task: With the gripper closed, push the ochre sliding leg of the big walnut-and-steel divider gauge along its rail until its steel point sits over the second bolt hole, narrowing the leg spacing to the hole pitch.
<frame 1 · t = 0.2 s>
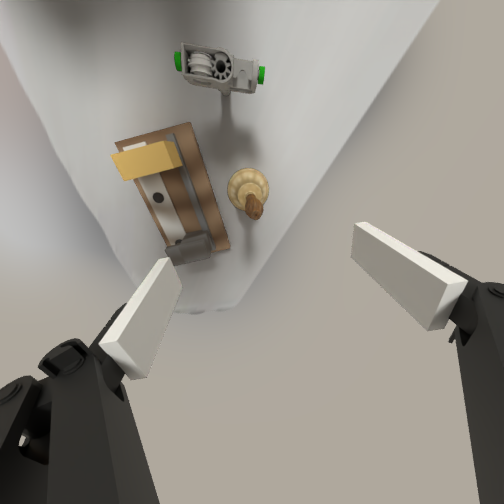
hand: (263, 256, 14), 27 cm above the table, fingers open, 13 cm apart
mechanical component: (225, 90, 30), on the table
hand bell: (248, 190, 38), on the table
sliding leg: (150, 160, 30), point 5 cm above the table, slide at 0.0 cm
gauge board: (182, 201, 38), on the table
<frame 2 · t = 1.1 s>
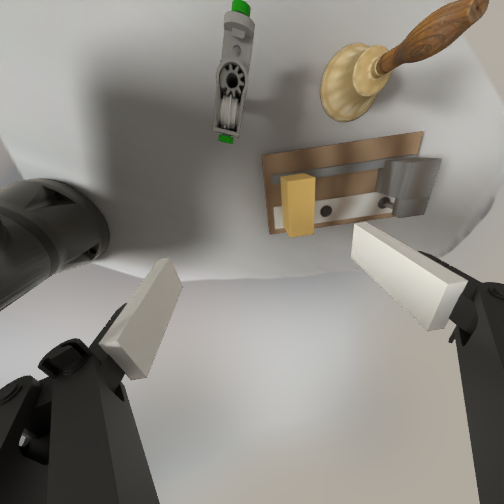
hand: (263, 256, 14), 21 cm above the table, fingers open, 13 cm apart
mechanical component: (235, 103, 26), on the table
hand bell: (349, 86, 26), on the table
sliding leg: (296, 204, 28), point 5 cm above the table, slide at 0.0 cm
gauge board: (334, 186, 33), on the table
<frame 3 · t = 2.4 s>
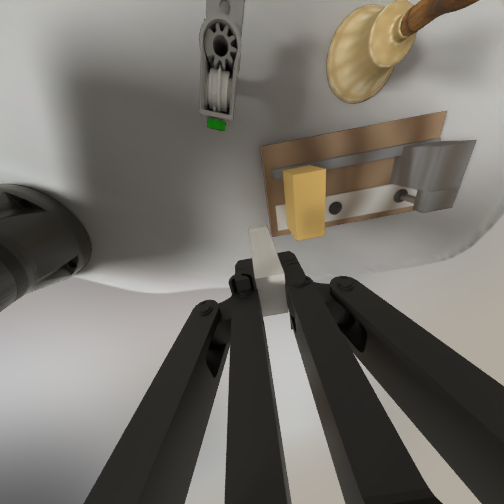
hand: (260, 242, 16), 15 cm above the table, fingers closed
mechanical component: (226, 85, 22), on the table
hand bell: (360, 59, 22), on the table
sliding leg: (302, 201, 25), point 5 cm above the table, slide at 0.0 cm
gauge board: (343, 180, 29), on the table
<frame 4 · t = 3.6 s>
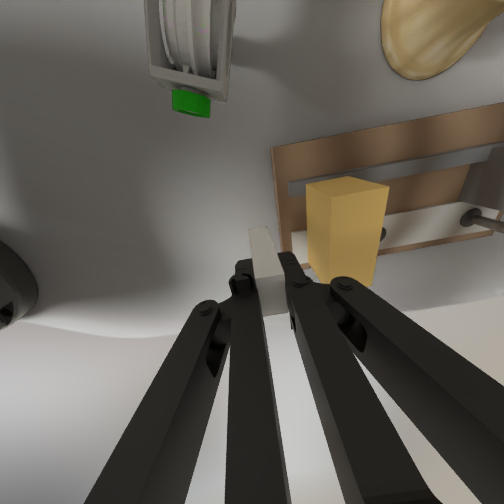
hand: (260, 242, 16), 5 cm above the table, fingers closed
mechanical component: (218, 49, 14), on the table
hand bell: (435, 6, 14), on the table
sliding leg: (336, 232, 16), point 5 cm above the table, slide at 0.0 cm
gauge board: (388, 194, 20), on the table
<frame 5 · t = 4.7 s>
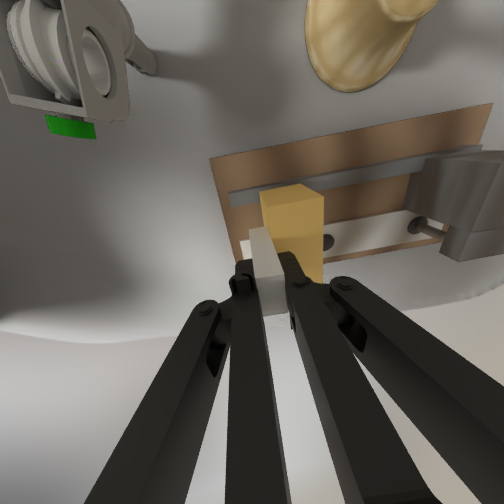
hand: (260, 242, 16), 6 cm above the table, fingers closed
mechanical component: (146, 63, 14), on the table
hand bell: (358, 21, 14), on the table
sliding leg: (289, 239, 16), point 5 cm above the table, slide at 1.5 cm, touching gripper
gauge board: (336, 203, 20), on the table
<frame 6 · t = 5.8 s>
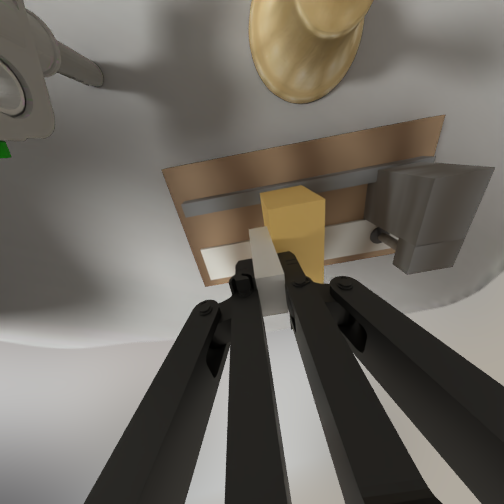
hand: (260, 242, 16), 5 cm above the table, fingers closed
mechanical component: (93, 75, 14), on the table
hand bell: (304, 34, 14), on the table
sliding leg: (289, 241, 16), point 5 cm above the table, slide at 5.7 cm, touching gripper
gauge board: (299, 211, 20), on the table
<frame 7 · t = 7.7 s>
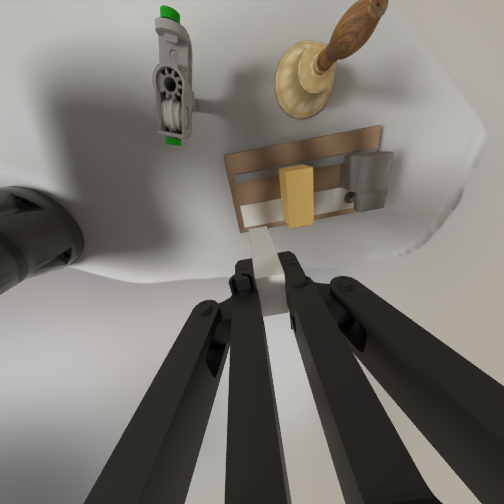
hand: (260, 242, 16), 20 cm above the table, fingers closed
mechanical component: (192, 105, 27), on the table
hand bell: (303, 83, 27), on the table
sliding leg: (295, 195, 29), point 5 cm above the table, slide at 5.7 cm
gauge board: (300, 183, 33), on the table
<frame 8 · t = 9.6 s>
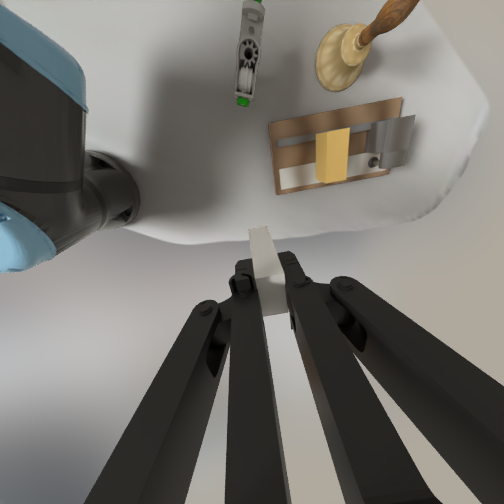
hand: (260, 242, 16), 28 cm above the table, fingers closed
mechanical component: (245, 78, 32), on the table
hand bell: (339, 60, 32), on the table
sliding leg: (329, 156, 34), point 5 cm above the table, slide at 5.7 cm
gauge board: (330, 150, 38), on the table
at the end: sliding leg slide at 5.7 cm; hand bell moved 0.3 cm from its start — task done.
